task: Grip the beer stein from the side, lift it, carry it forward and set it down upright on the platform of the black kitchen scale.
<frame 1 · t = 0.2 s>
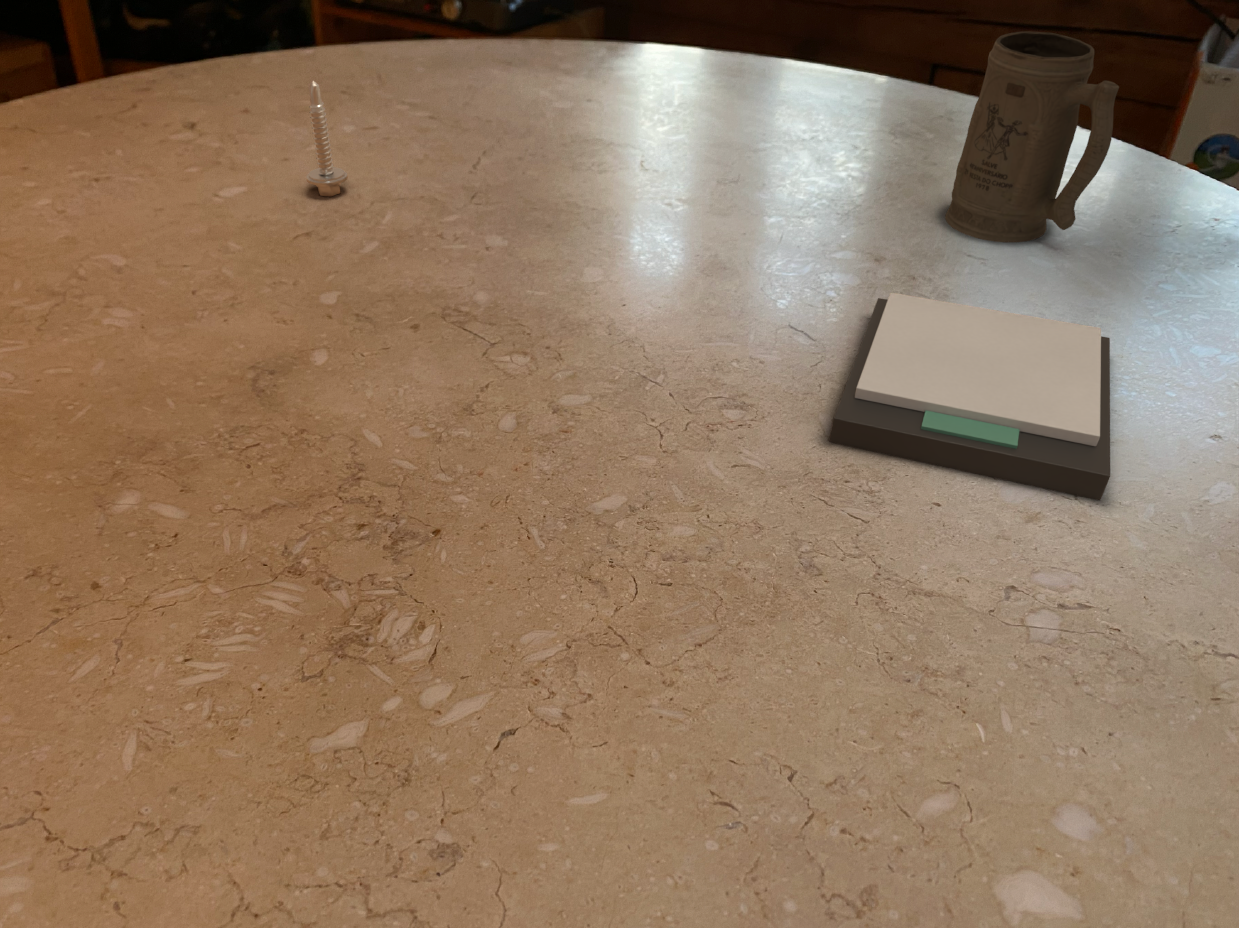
screw: (329, 194, 125), on the table
beer stein: (1012, 237, 115), on the table
scale: (970, 406, 88), on the table
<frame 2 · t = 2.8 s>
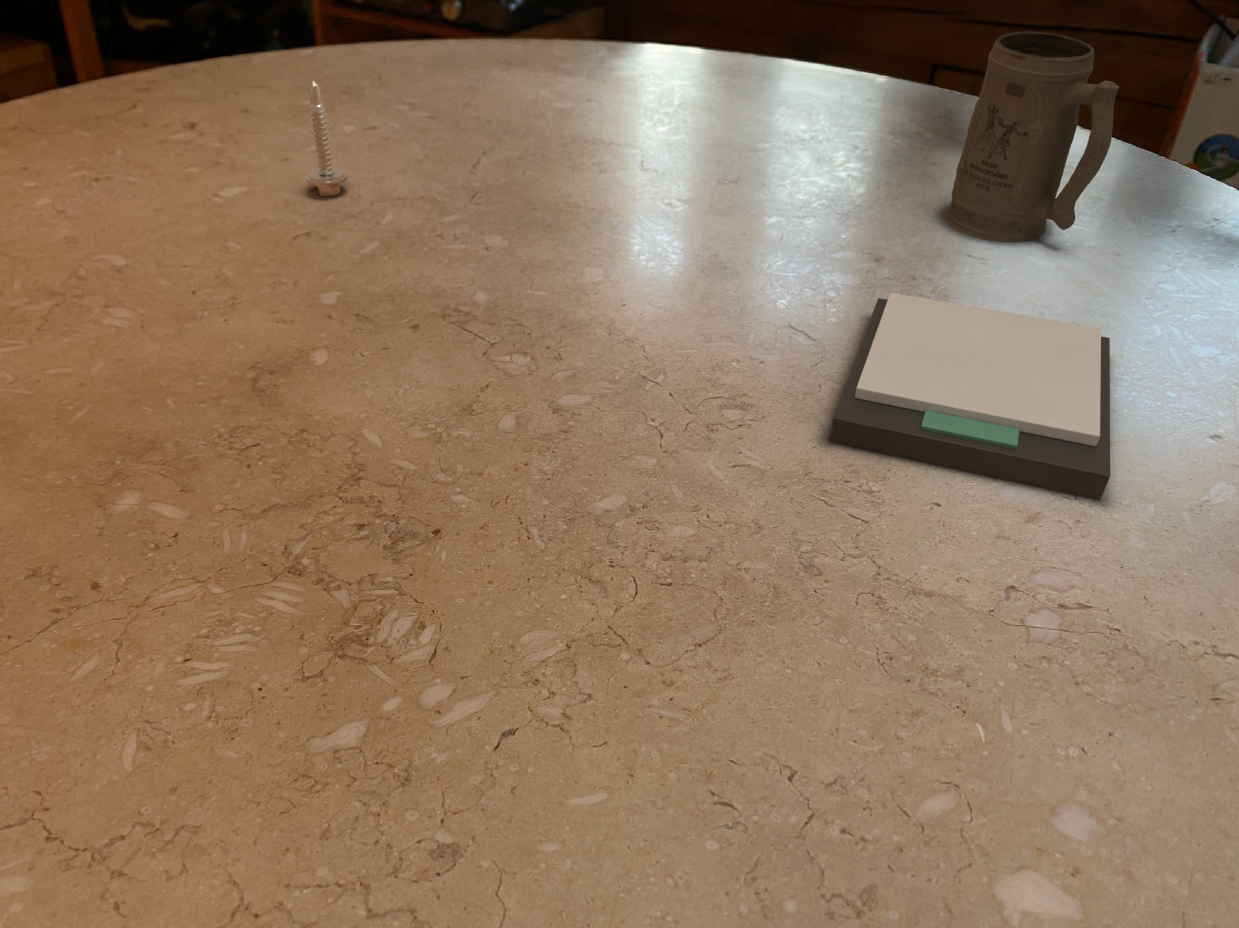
nothing on the table moved.
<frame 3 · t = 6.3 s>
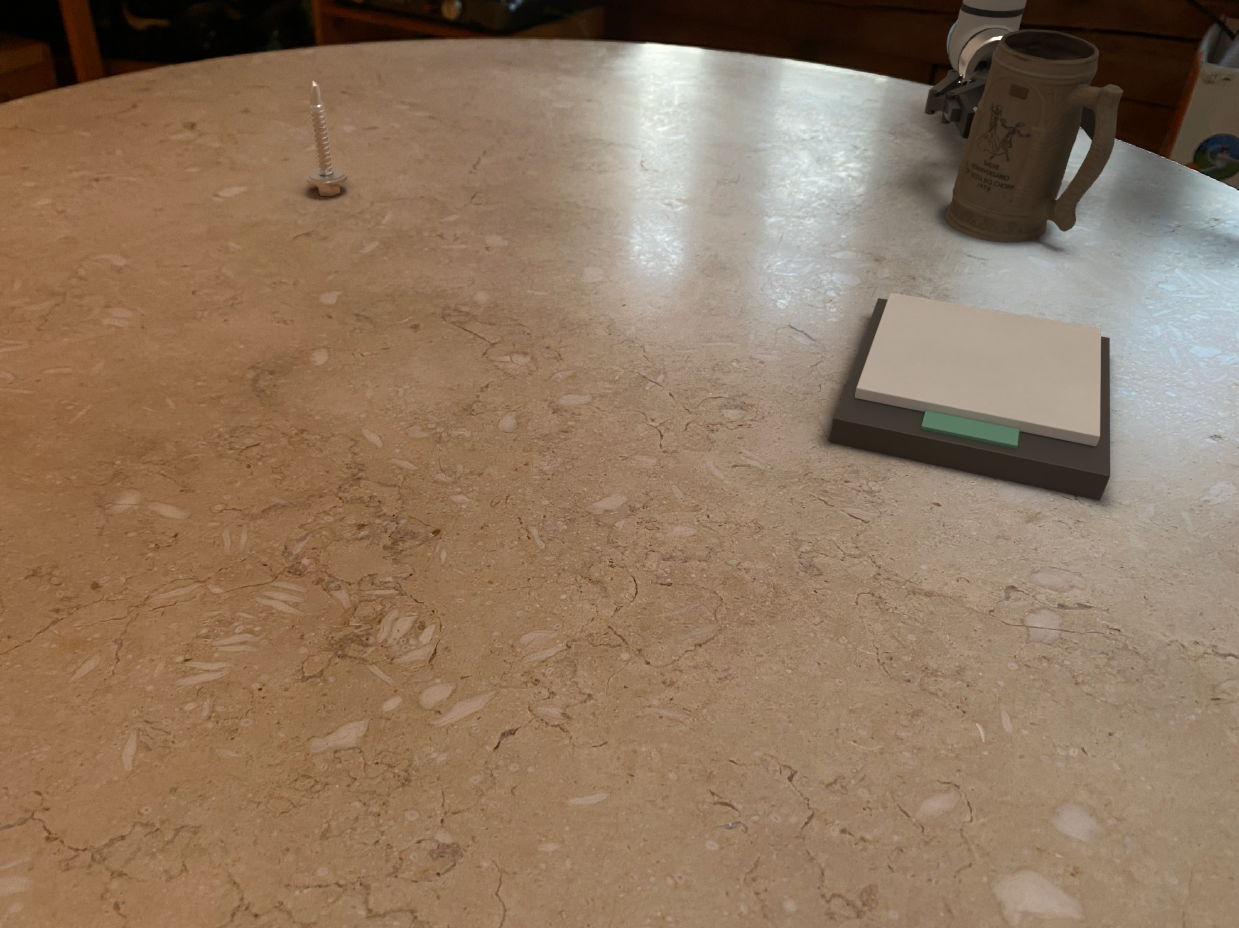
hand: (1035, 128, 110), 11 cm above the table, tool horizontal, fingers open, 13 cm apart
beer stein: (1012, 235, 115), on the table, touching gripper
everything else where it was.
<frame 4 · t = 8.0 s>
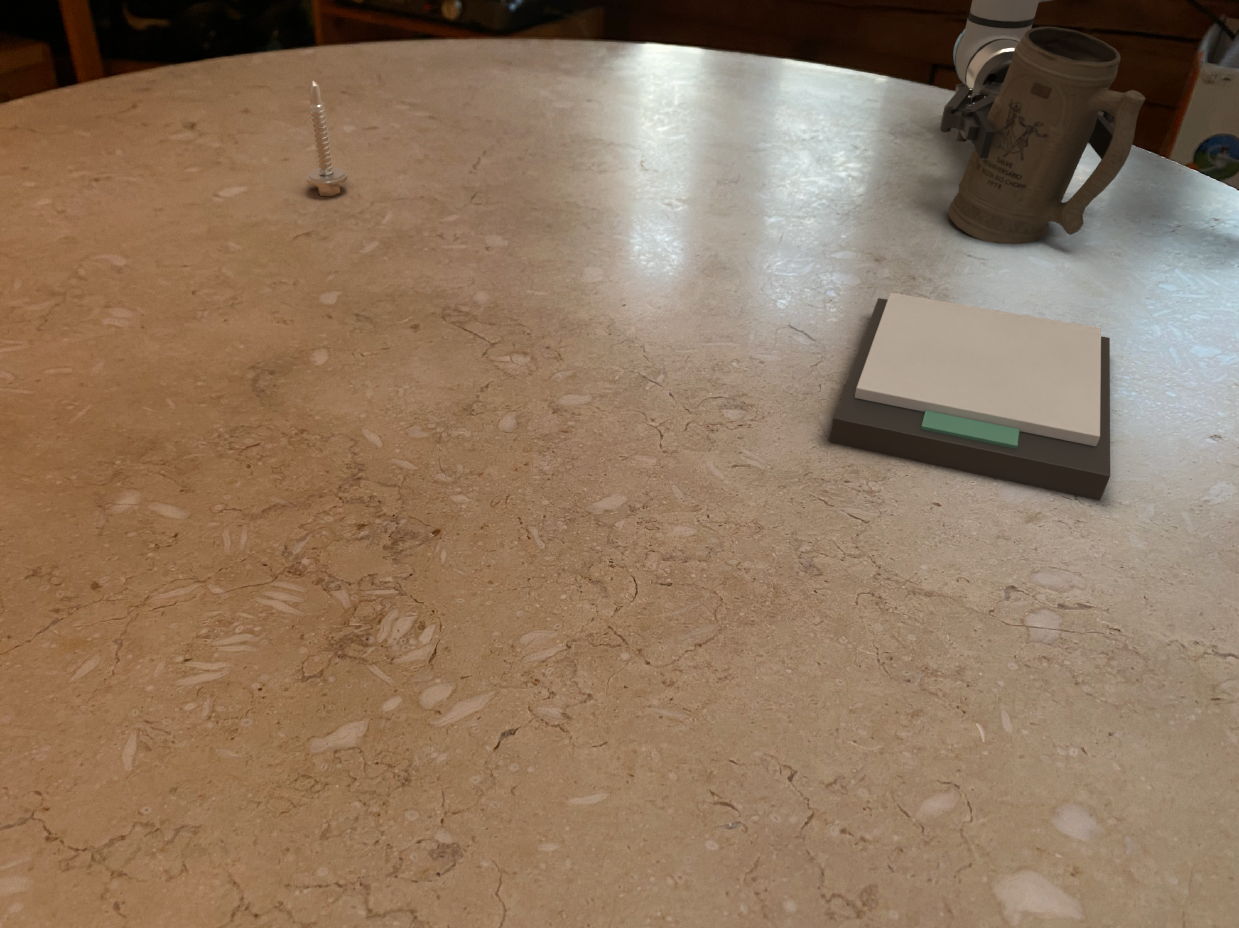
hand: (1049, 147, 105), 11 cm above the table, tool horizontal, fingers closed on beer stein, 11 cm apart
beer stein: (1014, 234, 115), on the table, touching gripper
everything else where it was.
when the fingers open (15 cm above the table, at t = 19.0 s): beer stein stays where it is, resting on scale.
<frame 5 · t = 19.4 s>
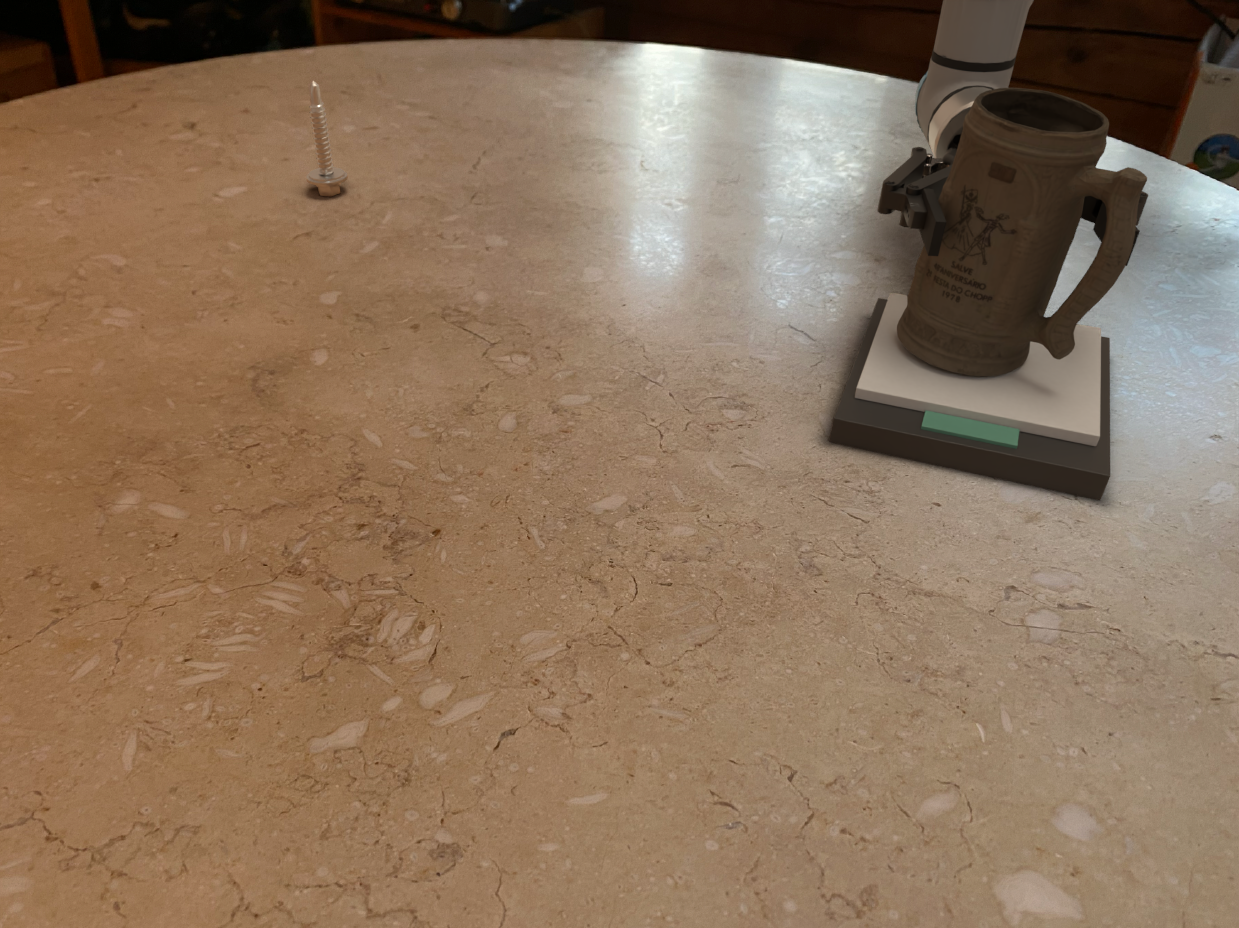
hand: (1031, 244, 77), 15 cm above the table, tool horizontal, fingers open, 13 cm apart
beer stein: (985, 357, 86), point 4 cm above the table, touching gripper, scale
everything else where it was.
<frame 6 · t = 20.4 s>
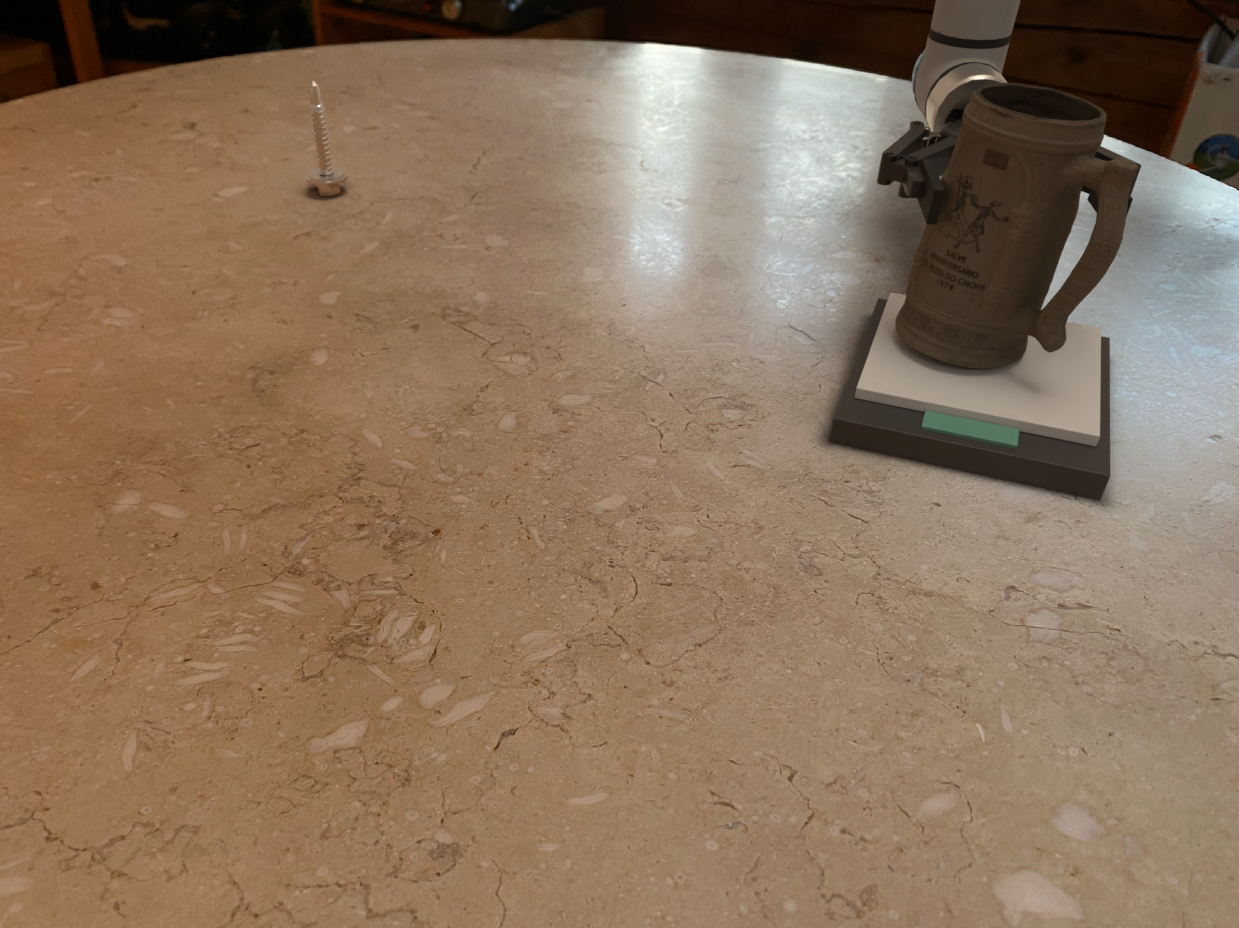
hand: (1027, 212, 78), 17 cm above the table, tool horizontal, fingers open, 13 cm apart
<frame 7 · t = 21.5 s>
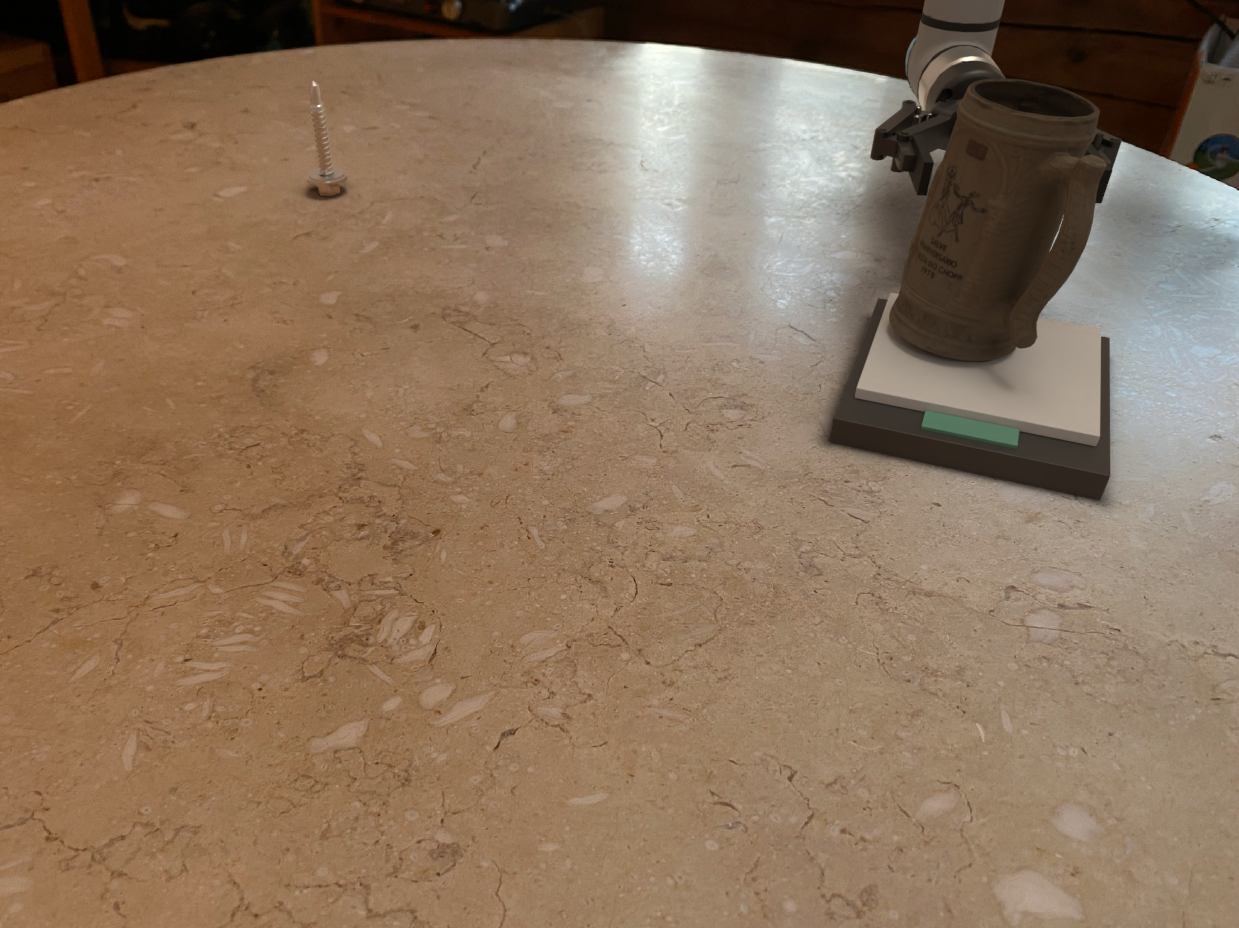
hand: (1013, 183, 83), 17 cm above the table, tool horizontal, fingers open, 13 cm apart
beer stein: (969, 347, 87), point 4 cm above the table, touching gripper, scale
everything else where it was.
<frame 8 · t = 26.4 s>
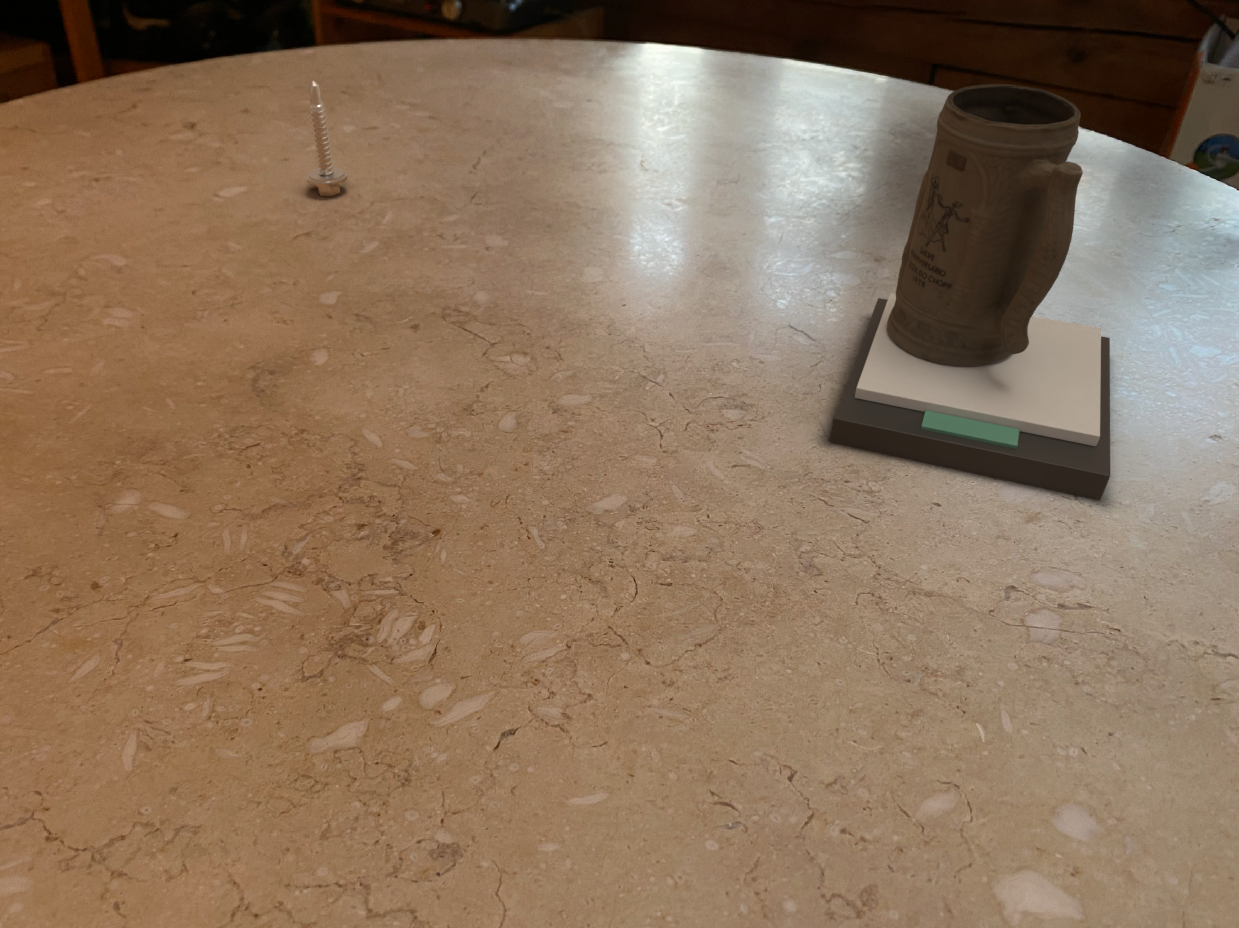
beer stein: (968, 351, 87), point 4 cm above the table, touching scale
everything else where it was.
at the end: beer stein inside the target area on the scale (1.5 cm from its centre), point 3.8 cm above the scale's base; beer stein tilted 1°; the gripper is holding nothing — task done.
